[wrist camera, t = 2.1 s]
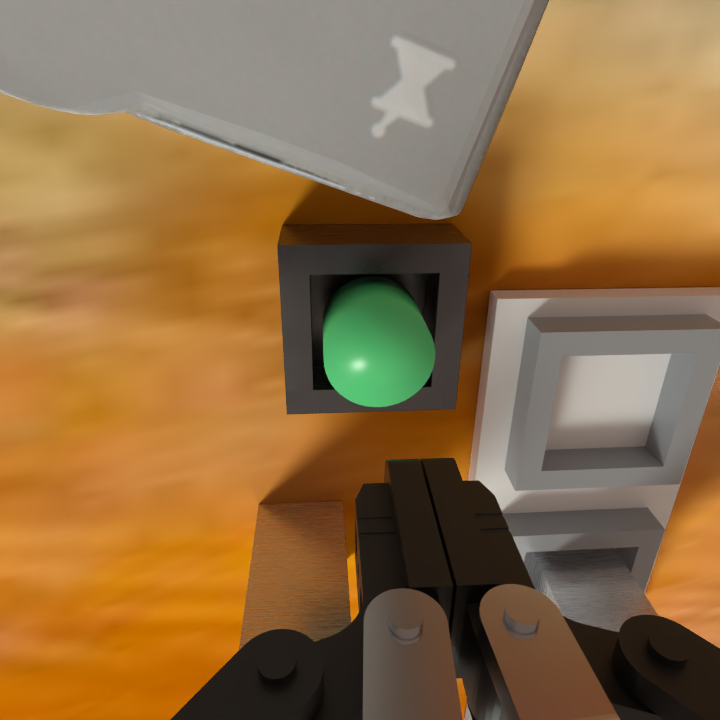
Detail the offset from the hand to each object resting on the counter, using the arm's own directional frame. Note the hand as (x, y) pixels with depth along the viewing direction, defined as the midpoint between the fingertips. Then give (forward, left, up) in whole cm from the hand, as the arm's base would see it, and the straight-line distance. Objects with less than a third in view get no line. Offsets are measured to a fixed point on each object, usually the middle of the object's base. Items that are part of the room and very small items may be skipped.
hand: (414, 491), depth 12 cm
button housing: (0, 0, -11) cm, 11 cm away
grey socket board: (+9, +10, -11) cm, 17 cm away
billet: (+12, -3, -11) cm, 17 cm away
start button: (0, 0, -9) cm, 9 cm away
